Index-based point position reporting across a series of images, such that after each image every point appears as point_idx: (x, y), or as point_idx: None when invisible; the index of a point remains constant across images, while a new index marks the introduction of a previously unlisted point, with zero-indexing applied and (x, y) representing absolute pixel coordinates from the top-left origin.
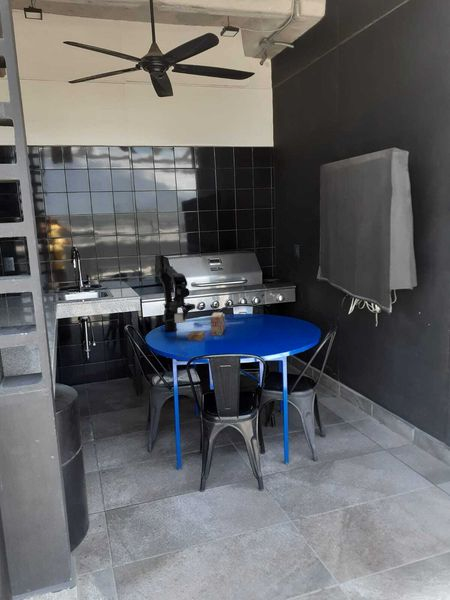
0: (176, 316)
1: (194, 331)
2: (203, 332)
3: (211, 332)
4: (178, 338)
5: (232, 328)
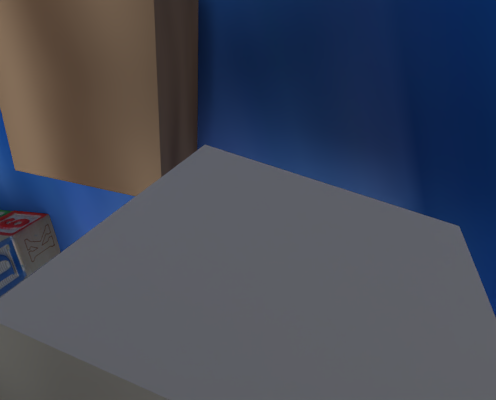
0: (390, 360)
1: (128, 177)
2: (7, 127)
3: (20, 227)
4: (361, 89)
5: None
